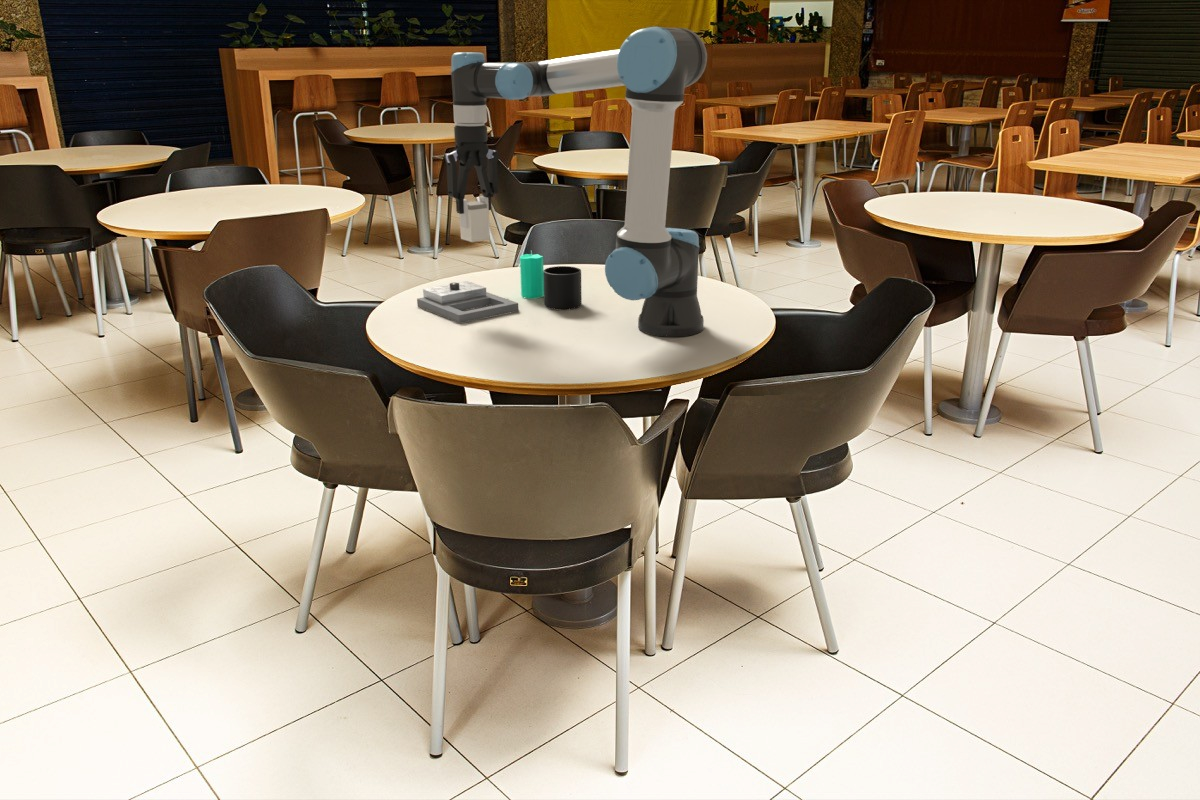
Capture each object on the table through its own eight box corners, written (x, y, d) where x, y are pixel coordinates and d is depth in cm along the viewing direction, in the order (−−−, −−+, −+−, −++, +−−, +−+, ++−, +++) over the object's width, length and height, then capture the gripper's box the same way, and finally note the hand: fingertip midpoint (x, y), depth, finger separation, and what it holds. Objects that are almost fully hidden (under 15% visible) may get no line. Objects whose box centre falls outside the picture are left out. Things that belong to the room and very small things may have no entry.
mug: (584, 298, 241) (584, 264, 237) (579, 310, 230) (579, 274, 226) (548, 297, 241) (547, 263, 238) (541, 310, 230) (540, 274, 227)
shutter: (486, 295, 236) (485, 282, 234) (441, 303, 228) (441, 291, 227) (467, 288, 242) (466, 276, 241) (423, 296, 234) (422, 284, 233)
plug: (478, 236, 225) (477, 200, 222) (489, 239, 222) (488, 203, 218) (460, 238, 222) (459, 203, 219) (471, 242, 219) (470, 205, 216)
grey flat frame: (518, 310, 229) (518, 303, 229) (459, 323, 219) (459, 315, 219) (474, 295, 244) (474, 287, 243) (417, 306, 234) (416, 298, 233)
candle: (543, 298, 241) (542, 252, 236) (520, 298, 241) (518, 252, 236) (544, 292, 246) (543, 247, 242) (522, 292, 246) (520, 247, 242)
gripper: (494, 121, 220) (497, 219, 229) (427, 124, 210) (433, 227, 218) (512, 123, 215) (515, 223, 223) (444, 127, 204) (449, 232, 213)
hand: (474, 225), depth 221 cm, fingers closed on plug, 5 cm apart
